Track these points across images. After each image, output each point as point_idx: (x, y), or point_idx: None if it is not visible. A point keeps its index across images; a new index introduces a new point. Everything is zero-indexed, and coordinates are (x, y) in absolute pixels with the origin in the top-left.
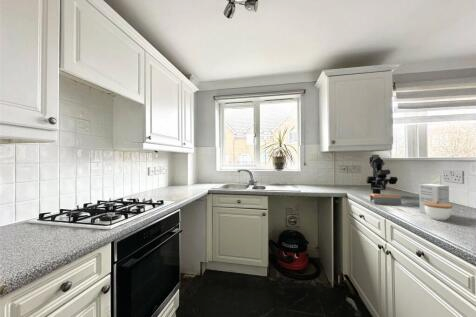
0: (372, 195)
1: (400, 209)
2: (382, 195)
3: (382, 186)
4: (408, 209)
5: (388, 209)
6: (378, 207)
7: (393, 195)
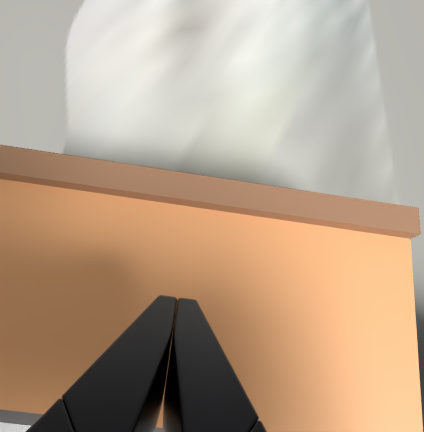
0: (406, 299)
1: (181, 24)
2: (279, 190)
3: (228, 370)
4: (99, 28)
5: (295, 18)
6: (356, 81)
7: (87, 173)
